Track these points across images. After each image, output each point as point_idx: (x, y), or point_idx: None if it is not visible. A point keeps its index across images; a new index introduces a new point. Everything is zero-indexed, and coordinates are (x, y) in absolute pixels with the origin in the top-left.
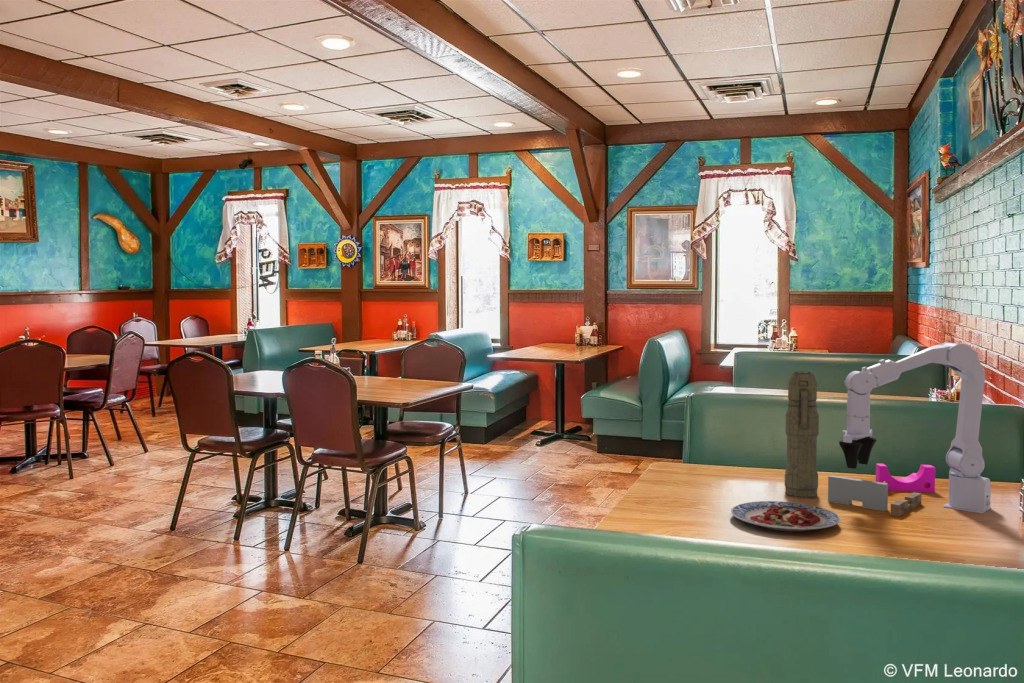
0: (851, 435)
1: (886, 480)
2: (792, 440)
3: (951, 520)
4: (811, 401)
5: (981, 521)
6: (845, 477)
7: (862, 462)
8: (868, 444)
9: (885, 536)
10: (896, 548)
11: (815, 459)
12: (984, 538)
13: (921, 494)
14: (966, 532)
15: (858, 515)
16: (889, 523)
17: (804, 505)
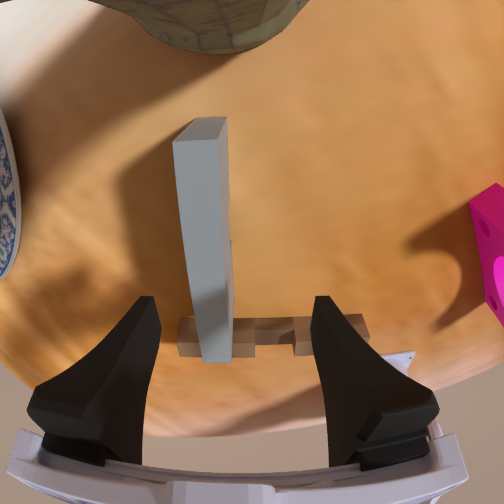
0: (47, 494)
1: (491, 236)
2: None
3: (243, 390)
4: None
5: (274, 410)
6: (215, 221)
7: (314, 318)
8: (333, 437)
9: (39, 342)
10: (17, 359)
11: (208, 23)
12: (168, 422)
13: None
14: (179, 410)
15: (109, 266)
16: None
17: (2, 158)
